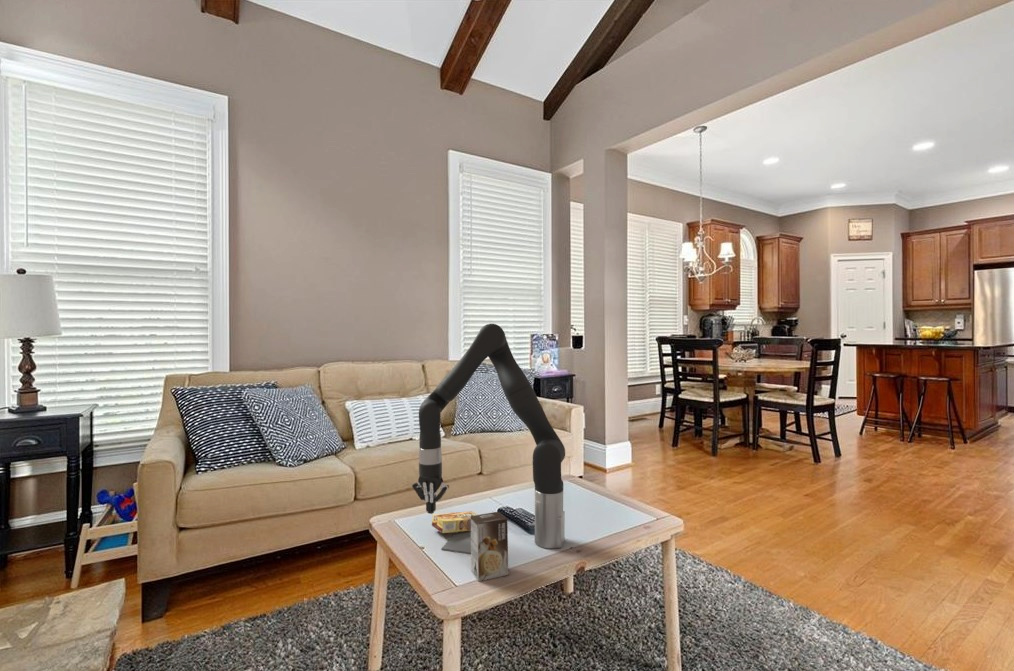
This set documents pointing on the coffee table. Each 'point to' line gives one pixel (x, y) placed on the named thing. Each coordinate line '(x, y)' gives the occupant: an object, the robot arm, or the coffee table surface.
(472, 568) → the coffee box
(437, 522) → the candy box
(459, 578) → the coffee table surface
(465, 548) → the mat
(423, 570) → the coffee table surface
